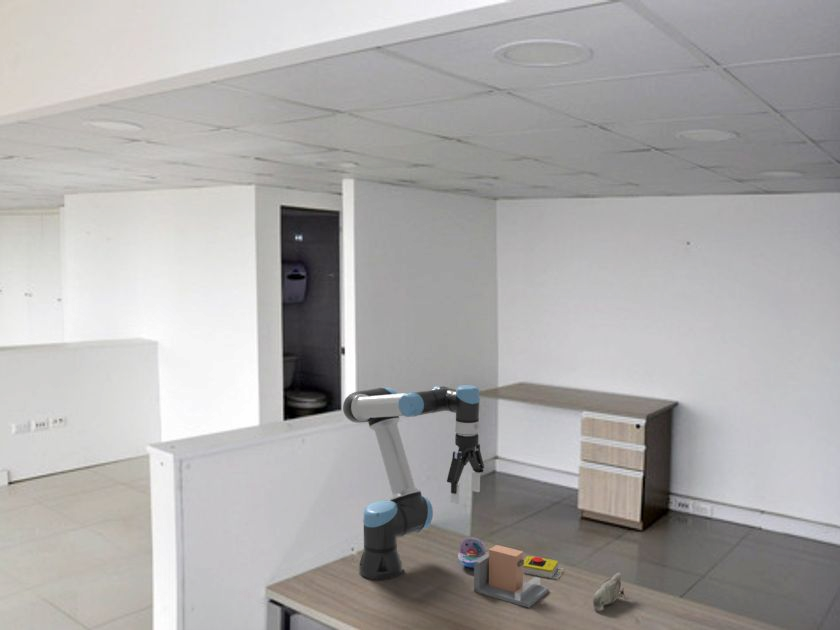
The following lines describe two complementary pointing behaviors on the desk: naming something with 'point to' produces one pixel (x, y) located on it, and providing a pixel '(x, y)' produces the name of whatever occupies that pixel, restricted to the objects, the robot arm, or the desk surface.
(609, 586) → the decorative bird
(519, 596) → the strip
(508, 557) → the cabinet block
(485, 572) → the gray bracket stand
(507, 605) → the desk surface
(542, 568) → the emergency button
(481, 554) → the cell model
